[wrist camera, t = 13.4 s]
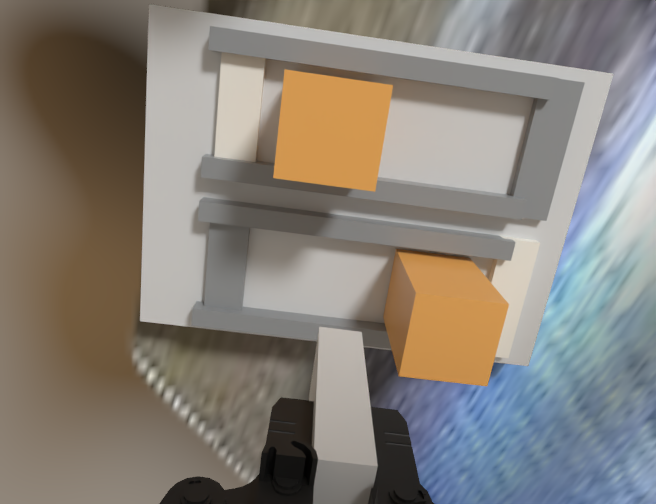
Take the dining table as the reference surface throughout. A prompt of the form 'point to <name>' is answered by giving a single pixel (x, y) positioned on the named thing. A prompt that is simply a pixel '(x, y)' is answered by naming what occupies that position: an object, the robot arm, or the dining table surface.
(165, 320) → the switch board
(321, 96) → the orange block
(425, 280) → the tab
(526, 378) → the dining table surface
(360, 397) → the robot arm
